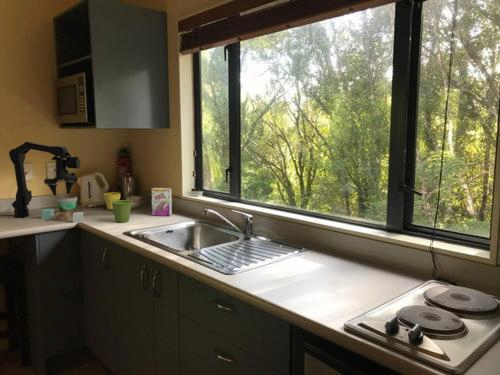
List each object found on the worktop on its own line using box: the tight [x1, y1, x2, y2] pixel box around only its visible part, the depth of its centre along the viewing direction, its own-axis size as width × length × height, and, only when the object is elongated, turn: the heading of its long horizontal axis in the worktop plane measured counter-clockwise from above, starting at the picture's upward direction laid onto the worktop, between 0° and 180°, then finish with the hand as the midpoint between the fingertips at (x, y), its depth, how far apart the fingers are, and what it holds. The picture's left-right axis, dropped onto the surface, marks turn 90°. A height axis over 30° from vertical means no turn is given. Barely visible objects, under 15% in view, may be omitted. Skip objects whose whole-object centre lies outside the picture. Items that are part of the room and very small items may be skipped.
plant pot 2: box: [111, 199, 134, 223], centre depth 237 cm, size 12×12×11 cm
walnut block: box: [53, 211, 72, 222], centre depth 241 cm, size 7×7×4 cm
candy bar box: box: [150, 187, 173, 217], centre depth 254 cm, size 11×5×16 cm, turn 84°
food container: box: [56, 195, 78, 215], centre depth 256 cm, size 12×6×10 cm, turn 143°
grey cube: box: [72, 211, 85, 224], centre depth 235 cm, size 5×5×5 cm
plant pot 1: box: [103, 192, 121, 210], centre depth 276 cm, size 10×10×10 cm
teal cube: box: [40, 208, 55, 220], centre depth 245 cm, size 5×5×5 cm
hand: (61, 194), depth 246 cm, fingers open, 9 cm apart
